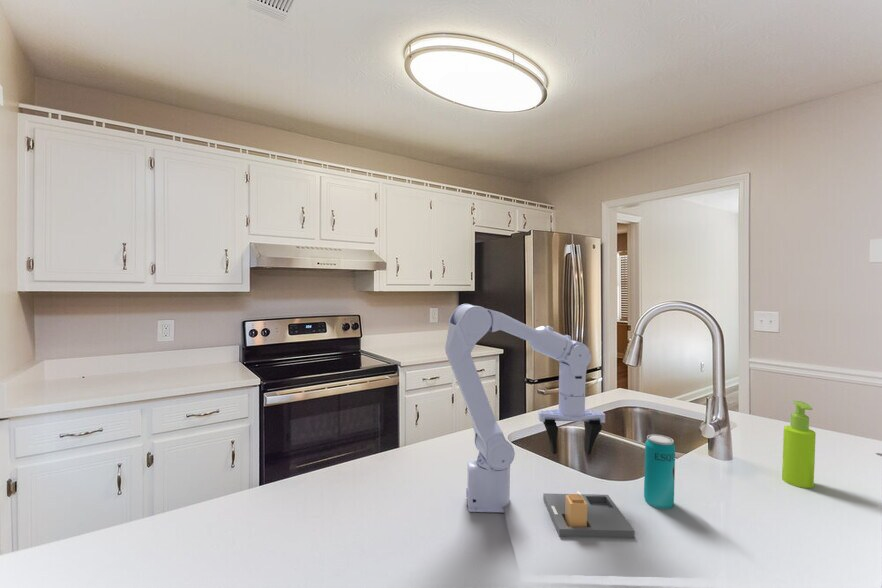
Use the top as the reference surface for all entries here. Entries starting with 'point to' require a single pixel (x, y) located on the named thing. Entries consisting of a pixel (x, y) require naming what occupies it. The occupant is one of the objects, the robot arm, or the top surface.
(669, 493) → the beverage can
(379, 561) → the top surface
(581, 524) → the orange plug
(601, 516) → the socket board
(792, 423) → the soap dispenser
